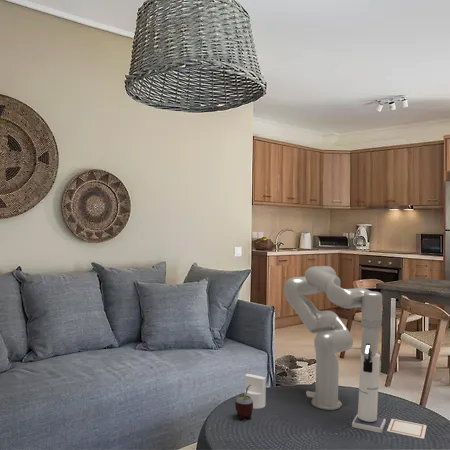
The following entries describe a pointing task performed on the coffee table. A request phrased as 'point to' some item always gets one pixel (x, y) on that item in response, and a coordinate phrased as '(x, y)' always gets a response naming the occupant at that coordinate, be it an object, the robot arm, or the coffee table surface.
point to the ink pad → (369, 424)
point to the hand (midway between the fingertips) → (369, 368)
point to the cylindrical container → (369, 390)
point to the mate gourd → (244, 406)
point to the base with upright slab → (256, 390)
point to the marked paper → (407, 428)
